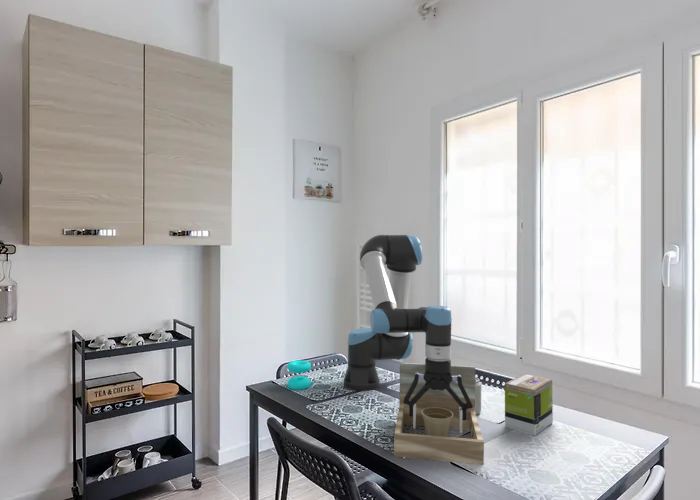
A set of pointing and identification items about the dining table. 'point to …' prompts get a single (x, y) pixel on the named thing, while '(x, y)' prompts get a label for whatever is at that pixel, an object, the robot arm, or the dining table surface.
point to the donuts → (299, 381)
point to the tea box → (528, 404)
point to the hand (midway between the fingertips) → (437, 428)
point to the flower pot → (437, 421)
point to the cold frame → (450, 446)
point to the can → (477, 396)
